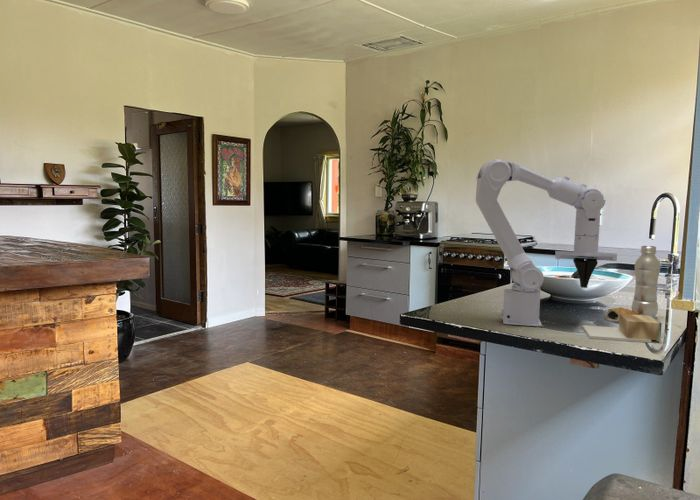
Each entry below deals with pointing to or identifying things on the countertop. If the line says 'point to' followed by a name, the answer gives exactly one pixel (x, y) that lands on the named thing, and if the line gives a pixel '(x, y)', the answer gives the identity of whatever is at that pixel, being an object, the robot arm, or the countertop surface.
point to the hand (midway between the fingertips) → (583, 287)
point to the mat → (609, 334)
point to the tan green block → (640, 327)
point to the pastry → (618, 314)
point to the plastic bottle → (646, 282)
